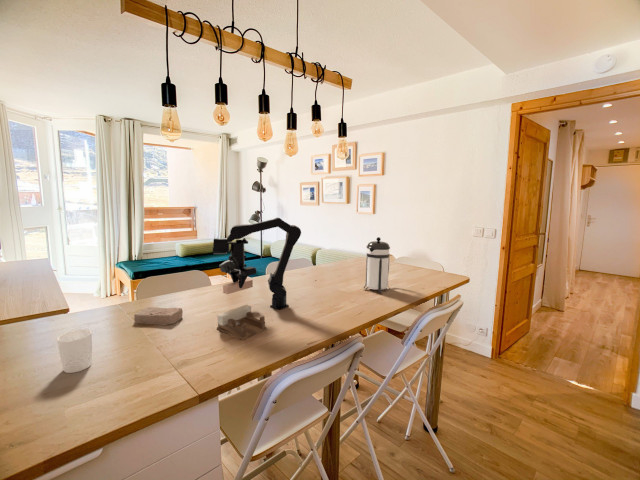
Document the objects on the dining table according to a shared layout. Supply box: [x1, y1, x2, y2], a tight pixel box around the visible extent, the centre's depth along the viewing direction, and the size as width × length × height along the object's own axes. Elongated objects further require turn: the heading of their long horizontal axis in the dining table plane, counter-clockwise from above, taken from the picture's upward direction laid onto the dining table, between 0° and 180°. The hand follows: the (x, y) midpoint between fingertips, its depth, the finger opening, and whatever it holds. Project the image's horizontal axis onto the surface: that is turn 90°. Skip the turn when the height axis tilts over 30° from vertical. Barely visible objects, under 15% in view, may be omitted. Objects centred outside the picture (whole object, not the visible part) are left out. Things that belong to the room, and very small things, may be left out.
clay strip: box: [222, 278, 254, 295], centre depth 137 cm, size 14×3×4 cm, turn 143°
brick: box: [133, 306, 184, 326], centre depth 125 cm, size 16×8×5 cm, turn 86°
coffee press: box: [363, 237, 391, 294], centre depth 171 cm, size 17×16×30 cm
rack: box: [216, 311, 267, 341], centre depth 118 cm, size 12×15×5 cm
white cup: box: [56, 329, 93, 374], centre depth 90 cm, size 8×8×10 cm
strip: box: [216, 304, 252, 326], centre depth 120 cm, size 14×3×4 cm, turn 144°
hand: (238, 287), depth 137 cm, fingers closed on clay strip, 3 cm apart
